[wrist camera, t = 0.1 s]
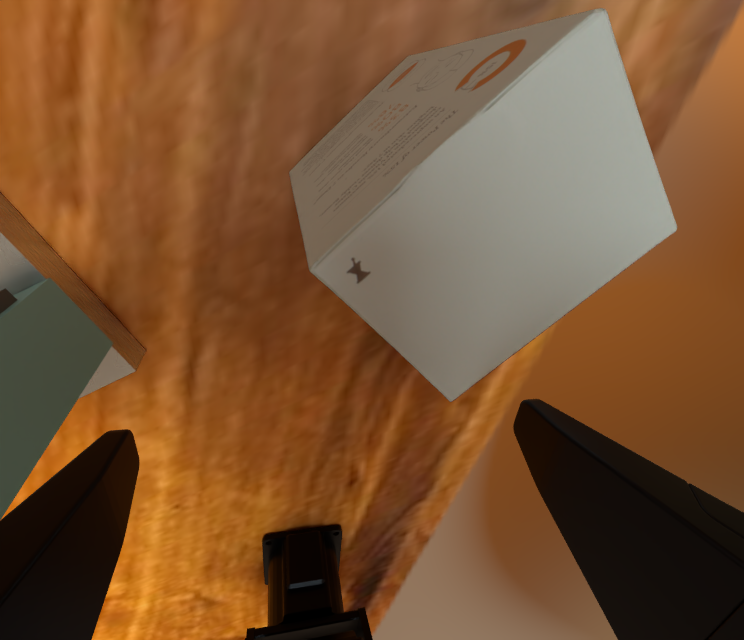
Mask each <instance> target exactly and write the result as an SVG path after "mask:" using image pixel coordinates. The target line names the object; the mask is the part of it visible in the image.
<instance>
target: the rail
mask: <svg viewBox="0 0 744 640" xmlns="http://www.w3.org/2000/svg"><path fill="white" fill-rule="evenodd" d="M48 278H51V279H52V280H53V281H54V282H55V283H56V284H57V285H58V286H59V287H60V288H61V289H62V290H63V291H64V292H65V294H66V295H67V296H68V297H69V298H70V299H71V300H72V301H73V302H74V303H75V304H76V305H77V306H78V307H79V308H80V309H81V310H82V311H83V312H84V313H85V314H86V315H87V316H88V317H89V318H90V319H91V320H92V321H93V322H94V323H95V325H96V326H97V327H98V328H99V329H100V330H101V331H102V332H103V333H104V334H105V335H106V336H107V337H108V338H109V339H110V340H111V341H112V342H113V345H112V346H111V348H110V350H109V351H108V353H107V354H106V356H105V357H104V359H103V361H102V362H101V364H100V365H99V367H98V368H97V370H96V371H95V373H94V375H93V376H92V378H91V379H90V381H89V382H88V384H87V386H86V387H85V389H84V390H83V392H82V393H81V395H80V396H79V398H81V397H83V396H85V395H87V394H89V393H91V392H93V391H95V390H97V389H100V388H102V387H104V386H106V385H108V384H110V383H112V382H114V381H116V380H118V379H120V378H122V377H125V376H127V375H129V374H131V373H133V372H135V371H136V370H137V368H138V366H139V364H140V362H141V360H142V358H143V356H144V354H145V352H146V350H145V349H144V348H143V347H142V346H141V344H140V343H139V342H138V341H137V340H136V339H135V338H134V337H133V336H132V335H131V334H130V333H129V331H128V330H127V329H126V328H125V327H124V326H123V325H122V324H121V323H120V322H119V321H118V320H117V318H116V317H115V316H114V315H113V314H112V313H111V312H110V311H109V310H108V309H107V308H106V306H105V305H104V304H103V303H102V302H101V301H100V300H99V299H98V298H97V297H96V296H95V295H94V293H93V292H92V291H91V290H90V289H89V288H88V287H87V286H86V285H85V284H84V283H83V282H82V280H81V279H80V278H79V277H78V276H77V275H76V274H75V273H74V272H73V271H72V270H71V269H70V267H69V266H68V265H67V264H66V263H65V262H64V261H63V260H62V259H61V258H60V257H59V256H58V254H57V253H56V252H55V251H54V250H53V249H52V248H51V247H50V246H49V245H48V244H47V243H46V241H45V240H44V239H43V238H42V237H41V236H40V235H39V234H38V233H37V232H36V231H35V230H34V228H33V227H32V226H31V225H30V224H29V223H28V222H27V221H26V220H25V219H24V218H23V217H22V215H21V214H20V213H19V212H18V211H17V210H16V209H15V208H14V207H13V206H12V205H11V204H10V202H9V201H8V200H7V199H6V198H5V197H4V196H3V195H2V194H1V193H0V291H1V290H3V289H5V288H6V289H7V290H8V291H9V292H10V293H11V294H12V295H15V294H17V293H19V292H21V291H24V290H26V289H28V288H30V287H32V286H34V285H36V284H38V283H40V282H42V281H44V280H46V279H48ZM79 398H78V399H79Z"/></svg>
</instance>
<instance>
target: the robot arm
mask: <svg viewBox="0 0 744 640" xmlns="http://www.w3.org/2000/svg"><path fill="white" fill-rule="evenodd" d="M514 433H515V436H516V438H517V441H518V443H519V445H520V448H521V450H522V453H523V455H524V458H525V460H526V462H527V465H528V467H529V470H530V472H531V475H532V477H533V479H534V481H535V484H536V486H537V488H538V490H539V492H540V494H541V496H542V498H543V500H544V502H545V504H546V506H547V507H548V509H549V511H550V513H551V515H552V517H553V519H554V521H555V522H556V524H557V526H558V528H559V530H560V532H561V534H562V536H563V537H564V539H565V541H566V543H567V545H568V547H569V549H570V550H571V552H572V554H573V556H574V558H575V560H576V562H577V564H578V565H579V567H580V569H581V571H582V573H583V575H584V577H585V578H586V580H587V582H588V584H589V586H590V588H591V590H592V592H593V594H594V595H595V597H596V599H597V601H598V603H599V605H600V607H601V608H602V610H603V612H604V614H605V616H606V618H607V620H608V622H609V623H610V625H611V627H612V629H613V631H614V633H615V635H616V637H617V639H618V640H744V513H743V512H741V511H739V510H738V509H736V508H734V507H732V506H730V505H728V504H726V503H725V502H723V501H721V500H719V499H717V498H715V497H714V496H712V495H710V494H708V493H706V492H704V491H703V490H701V489H699V488H697V487H696V486H694V485H692V484H688V483H687V482H686V481H685V480H683V479H681V478H679V477H678V476H676V475H674V474H672V473H670V472H669V471H667V470H665V469H663V468H661V467H660V466H658V465H656V464H654V463H653V462H651V461H649V460H647V459H645V458H644V457H642V456H640V455H638V454H636V453H635V452H633V451H631V450H629V449H627V448H625V447H624V446H622V445H620V444H618V443H617V442H615V441H613V440H611V439H609V438H608V437H606V436H604V435H602V434H600V433H599V432H597V431H595V430H593V429H592V428H590V427H588V426H586V425H585V424H583V423H581V422H579V421H577V420H575V419H574V418H572V417H570V416H568V415H567V414H565V413H563V412H561V411H559V410H558V409H556V408H554V407H552V406H551V405H549V404H547V403H545V402H543V401H541V400H539V399H528V400H523V401H522V402H521V404H520V407H519V410H518V412H517V415H516V418H515V422H514ZM138 471H139V455H138V452H137V448H136V444H135V440H134V436H133V433H132V432H131V431H130V430H127V429H125V430H112V431H108V432H106V433H105V434H103V435H102V436H101V437H100V438H99V439H97V440H96V441H95V442H94V443H93V444H91V445H90V446H89V447H88V448H87V449H85V450H84V451H83V452H82V453H81V454H79V455H78V456H77V457H76V458H75V459H73V460H72V461H71V462H70V463H69V464H67V465H66V466H65V467H64V468H63V469H61V470H60V471H59V472H58V473H57V474H55V475H54V476H53V477H52V478H51V479H49V480H48V481H47V482H46V483H45V484H43V485H42V486H41V487H40V488H39V489H37V490H36V491H35V492H34V493H33V494H31V495H30V496H29V497H28V498H27V499H26V500H24V501H23V502H22V503H21V504H20V505H18V506H17V507H16V508H15V509H14V510H12V511H11V512H10V513H9V514H8V515H6V516H5V517H4V518H3V519H2V520H0V640H91V639H92V636H93V633H94V630H95V627H96V624H97V621H98V618H99V615H100V612H101V609H102V606H103V603H104V600H105V597H106V594H107V591H108V588H109V585H110V582H111V579H112V576H113V573H114V570H115V567H116V564H117V561H118V558H119V555H120V551H121V548H122V545H123V541H124V537H125V533H126V528H127V523H128V519H129V514H130V509H131V504H132V499H133V495H134V490H135V485H136V480H137V475H138ZM341 540H342V529H341V527H340V526H329V527H322V528H314V529H307V530H299V531H292V532H284V533H277V534H270V535H266V536H264V537H263V540H262V546H263V562H264V578H265V584H266V585H268V627H262V628H257V629H255V627H254V628H249V629H247V636H246V638H245V640H373V639H372V635H371V631H370V627H369V623H368V619H367V615H366V611H365V607H363V608H358V609H357V610H354V611H349V612H344V610H343V602H342V595H341V587H340V579H339V562H340V551H341Z"/></svg>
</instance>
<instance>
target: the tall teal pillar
mask: <svg viewBox="0 0 744 640" xmlns="http://www.w3.org/2000/svg"><path fill="white" fill-rule="evenodd" d="M112 345H113V342H112V341H111V340H110V339H109V338H108V337H107V336H106V335H105V334H104V333H103V332H102V331H101V330H100V329H99V328H98V327H97V326H96V325H95V323H94V322H93V321H92V320H91V319H90V318H89V317H88V316H87V315H86V314H85V313H84V312H83V311H82V310H81V309H80V308H79V307H78V306H77V305H76V304H75V303H74V302H73V301H72V300H71V299H70V298H69V297H68V296H67V295H66V294H65V292H64V291H63V290H62V289H61V288H60V287H59V286H58V285H57V284H56V283H55V282H54V281H53V280H52V279H51V278H48V279H46V280H44V281H42V282H40V283H38V284H36V285H34V286H32V287H30V288H28V289H26V290H24V291H21V292H19V293H17V294H15V295H12V294H11V293H10V292H9V291H8V290H7V289H6V288H5V289H3V290H1V291H0V520H1V518H2V517H3V515H4V514H5V512H6V510H7V509H8V507H9V506H10V504H11V503H12V501H13V499H14V498H15V496H16V495H17V493H18V492H19V490H20V489H21V487H22V485H23V484H24V482H25V481H26V479H27V478H28V476H29V474H30V473H31V471H32V470H33V468H34V467H35V465H36V464H37V462H38V460H39V459H40V457H41V456H42V454H43V453H44V451H45V450H46V448H47V446H48V445H49V443H50V442H51V440H52V439H53V437H54V435H55V434H56V432H57V431H58V429H59V428H60V426H61V425H62V423H63V421H64V420H65V418H66V417H67V415H68V414H69V412H70V410H71V409H72V407H73V406H74V404H75V403H76V401H77V400H78V398H79V396H80V395H81V393H82V392H83V390H84V389H85V387H86V386H87V384H88V382H89V381H90V379H91V378H92V376H93V375H94V373H95V371H96V370H97V368H98V367H99V365H100V364H101V362H102V361H103V359H104V357H105V356H106V354H107V353H108V351H109V350H110V348H111V346H112Z"/></svg>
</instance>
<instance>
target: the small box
mask: <svg viewBox="0 0 744 640" xmlns="http://www.w3.org/2000/svg"><path fill="white" fill-rule="evenodd" d="M289 175H290V180H291V185H292V190H293V195H294V200H295V204H296V209H297V213H298V218H299V222H300V227H301V232H302V237H303V242H304V247H305V252H306V256H307V262H308V267H309V271H310V272H311V273H312V274H313V275H315V276H316V277H317V278H318V279H319V280H320V281H321V282H323V283H324V284H325V285H326V286H327V287H328V288H329V289H330V290H332V291H333V292H334V293H335V294H336V295H337V296H338V297H339V298H340V299H341V300H343V301H344V302H345V303H346V304H347V305H348V306H349V307H350V308H351V309H352V310H353V311H354V312H356V313H357V314H358V315H359V316H360V317H361V318H362V319H363V320H364V321H365V322H366V323H367V324H369V325H370V326H371V327H372V328H373V329H374V330H375V331H376V332H377V333H378V334H379V335H380V336H382V337H383V338H384V339H385V340H386V341H387V342H388V343H389V344H390V345H391V346H392V347H393V348H395V349H396V350H397V351H398V352H399V353H400V354H401V355H402V356H403V357H404V358H405V359H406V360H407V361H408V362H409V363H411V364H412V365H413V366H414V367H415V368H416V369H417V370H418V371H419V372H420V373H421V374H422V375H423V376H424V377H425V378H426V379H427V380H428V381H429V382H430V383H431V384H432V385H433V386H435V387H436V388H437V389H438V390H439V391H440V392H441V393H442V394H443V395H444V396H445V397H446V398H447V399H448V400H449V401H450V402H452V401H454V400H455V399H457V398H458V397H459V396H460V395H462V394H463V393H464V392H465V391H467V390H468V389H469V388H470V387H472V386H473V385H474V384H476V383H477V382H478V381H480V380H481V379H482V378H484V377H485V376H486V375H488V374H489V373H490V372H491V371H493V370H494V369H495V368H497V367H498V366H499V365H500V364H502V363H503V362H504V361H505V360H507V359H508V358H510V357H511V356H512V355H514V354H515V353H516V352H518V351H519V350H520V349H521V348H523V347H524V346H525V345H527V344H528V343H529V342H531V341H532V340H533V339H535V338H536V337H537V336H538V335H540V334H541V333H542V332H544V331H545V330H546V329H548V328H549V327H550V326H552V325H553V324H554V323H555V322H557V321H558V320H559V319H561V318H562V317H563V316H565V315H566V314H567V313H569V312H570V311H571V310H572V309H574V308H575V307H576V306H578V305H579V304H580V303H582V302H583V301H584V300H585V299H587V298H588V297H589V296H591V295H592V294H593V293H595V292H596V291H597V290H599V289H600V288H601V287H603V286H604V285H605V284H607V283H608V282H609V281H611V280H612V279H613V278H615V277H616V276H617V275H618V274H620V273H621V272H622V271H624V270H625V269H626V268H628V267H629V266H630V265H632V264H633V263H634V262H635V261H637V260H638V259H639V258H641V257H642V256H643V255H644V254H646V253H647V252H648V251H650V250H651V249H652V248H654V247H655V246H657V245H658V244H659V243H660V242H662V241H663V240H664V239H666V238H667V237H668V236H670V235H671V234H673V233H674V232H675V231H676V229H677V226H676V222H675V219H674V217H673V213H672V211H671V208H670V204H669V202H668V199H667V196H666V193H665V190H664V187H663V185H662V182H661V179H660V176H659V172H658V169H657V167H656V164H655V161H654V158H653V155H652V152H651V149H650V146H649V143H648V140H647V137H646V134H645V131H644V128H643V125H642V122H641V119H640V116H639V113H638V109H637V106H636V103H635V100H634V97H633V94H632V91H631V87H630V84H629V81H628V78H627V75H626V72H625V68H624V65H623V62H622V59H621V56H620V53H619V50H618V46H617V43H616V40H615V37H614V34H613V30H612V27H611V23H610V20H609V16H608V13H607V11H606V10H605V9H603V8H600V9H594V10H590V11H586V12H582V13H578V14H574V15H569V16H565V17H561V18H557V19H553V20H549V21H545V22H541V23H537V24H534V25H530V26H527V27H522V28H518V29H514V30H510V31H505V32H501V33H498V34H494V35H490V36H486V37H482V38H478V39H474V40H470V41H466V42H462V43H458V44H455V45H451V46H447V47H443V48H439V49H435V50H431V51H427V52H423V53H419V54H414V55H410V56H408V57H406V58H405V59H404V60H403V61H402V62H401V63H400V64H399V65H398V66H397V67H396V68H395V69H394V70H393V71H392V72H390V73H389V74H388V75H387V76H386V77H385V78H384V79H383V80H382V81H381V82H380V83H379V84H378V85H377V86H376V87H375V88H374V89H373V90H372V91H371V92H370V93H369V94H368V95H367V96H366V97H364V98H363V99H362V100H361V101H360V102H359V103H358V104H357V105H356V106H355V107H354V108H353V109H352V110H351V111H350V112H349V113H348V114H347V115H346V116H345V117H344V118H343V119H342V120H341V121H340V122H339V123H338V124H337V125H336V126H335V127H334V128H333V129H332V130H331V131H330V132H329V133H328V134H327V135H326V136H325V137H324V138H323V139H322V140H320V141H319V142H318V143H317V144H316V145H315V146H314V147H313V148H312V149H311V150H310V151H309V152H308V153H307V154H306V155H305V156H304V157H303V158H302V159H301V160H300V161H299V162H298V164H297V165H296V166H295V167H294V168H293V169H292V170H291V171H290V172H289Z"/></svg>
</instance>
